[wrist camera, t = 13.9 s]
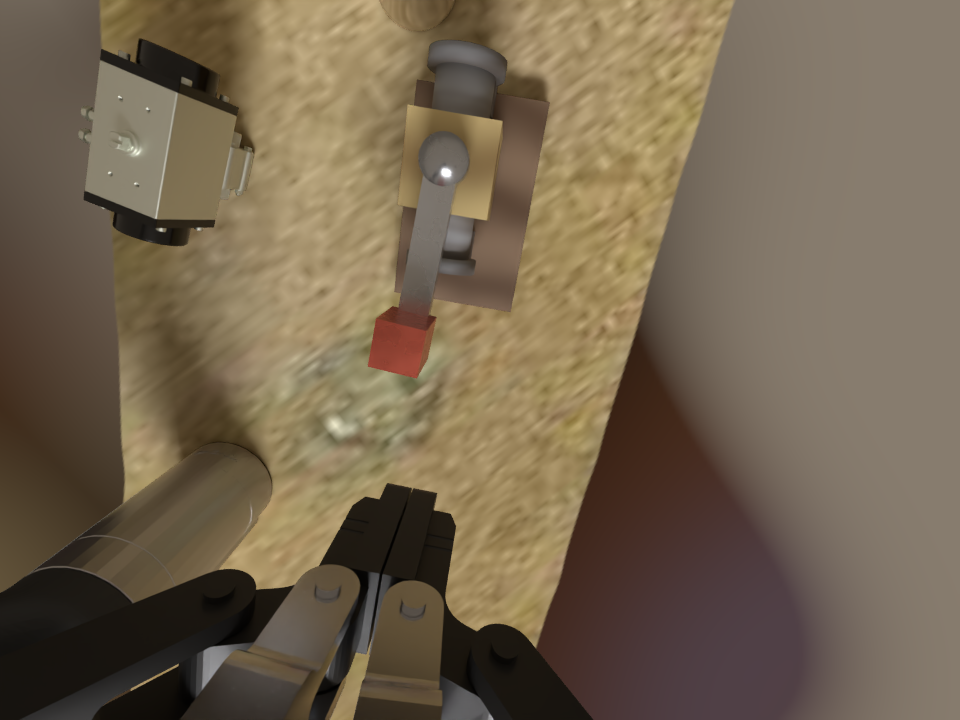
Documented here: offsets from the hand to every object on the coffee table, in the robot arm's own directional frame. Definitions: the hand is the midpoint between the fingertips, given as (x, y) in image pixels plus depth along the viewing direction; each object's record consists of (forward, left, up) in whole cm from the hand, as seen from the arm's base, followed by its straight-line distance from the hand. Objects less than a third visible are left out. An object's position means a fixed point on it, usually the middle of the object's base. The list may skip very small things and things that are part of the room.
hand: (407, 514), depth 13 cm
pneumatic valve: (+9, +22, -29) cm, 37 cm away
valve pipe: (+10, +2, -28) cm, 30 cm away
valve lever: (+6, +3, -19) cm, 20 cm away
